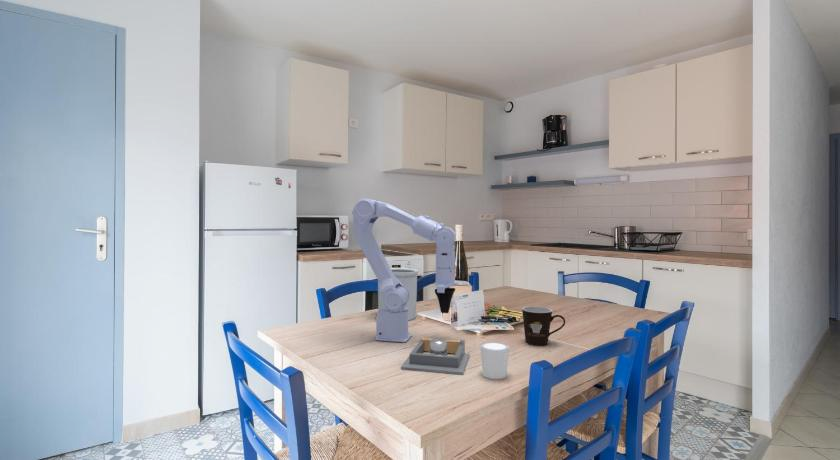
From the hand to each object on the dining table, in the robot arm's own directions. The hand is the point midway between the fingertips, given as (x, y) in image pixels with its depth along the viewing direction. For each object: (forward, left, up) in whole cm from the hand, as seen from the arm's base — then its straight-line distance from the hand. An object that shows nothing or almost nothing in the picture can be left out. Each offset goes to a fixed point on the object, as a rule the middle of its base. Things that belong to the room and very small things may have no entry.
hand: (444, 312), depth 131 cm
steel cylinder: (+1, -17, -9) cm, 19 cm away
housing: (+1, -19, -9) cm, 21 cm away
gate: (+1, -11, -8) cm, 14 cm away
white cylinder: (+16, -24, -9) cm, 30 cm away
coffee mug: (+28, +4, -9) cm, 30 cm away
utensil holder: (-22, +25, -9) cm, 35 cm away
